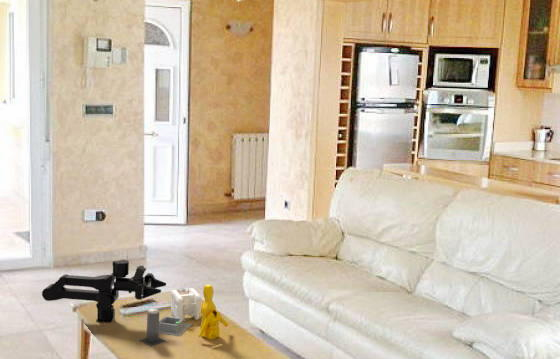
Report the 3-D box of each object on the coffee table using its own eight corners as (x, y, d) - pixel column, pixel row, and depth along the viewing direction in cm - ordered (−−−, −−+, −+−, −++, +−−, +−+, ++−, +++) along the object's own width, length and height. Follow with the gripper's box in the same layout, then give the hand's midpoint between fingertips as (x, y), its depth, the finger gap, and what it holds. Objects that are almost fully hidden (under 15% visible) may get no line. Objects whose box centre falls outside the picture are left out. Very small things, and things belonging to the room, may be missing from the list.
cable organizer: (200, 322, 300) (201, 297, 299) (177, 324, 296) (177, 299, 295) (191, 310, 314) (192, 286, 312) (169, 312, 310) (169, 288, 308)
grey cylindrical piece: (144, 340, 276) (144, 309, 274) (153, 337, 279) (154, 307, 277) (151, 344, 273) (152, 313, 271) (161, 340, 276) (161, 310, 274)
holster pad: (138, 341, 276) (138, 340, 276) (154, 336, 282) (154, 335, 282) (150, 347, 270) (150, 346, 270) (166, 342, 276) (166, 341, 276)
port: (148, 332, 285) (148, 322, 285) (161, 321, 299) (162, 311, 298) (179, 337, 282) (180, 327, 282) (191, 325, 296) (192, 316, 295)
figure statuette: (202, 345, 275) (204, 293, 272) (188, 340, 280) (190, 289, 277) (231, 333, 289) (233, 284, 286) (217, 328, 294) (219, 279, 291)
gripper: (122, 273, 284) (158, 276, 283) (134, 260, 302) (169, 263, 301) (121, 298, 285) (158, 301, 284) (133, 284, 304) (168, 287, 303)
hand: (163, 287), depth 293 cm, fingers open, 9 cm apart
